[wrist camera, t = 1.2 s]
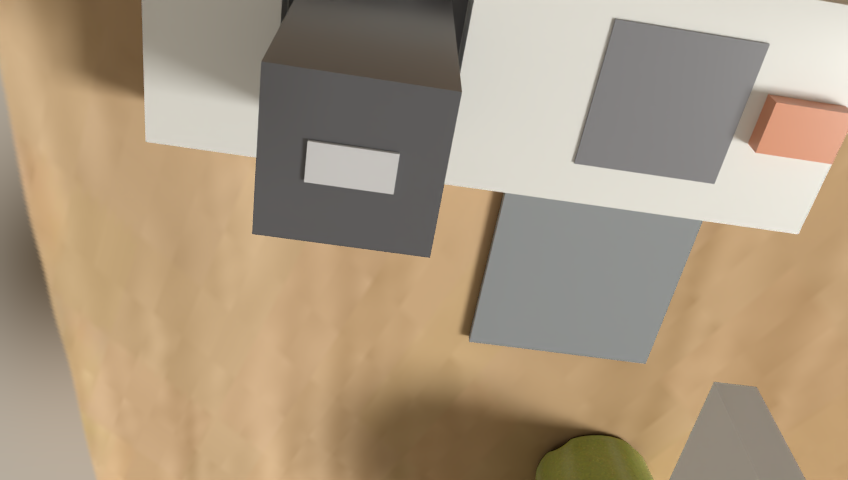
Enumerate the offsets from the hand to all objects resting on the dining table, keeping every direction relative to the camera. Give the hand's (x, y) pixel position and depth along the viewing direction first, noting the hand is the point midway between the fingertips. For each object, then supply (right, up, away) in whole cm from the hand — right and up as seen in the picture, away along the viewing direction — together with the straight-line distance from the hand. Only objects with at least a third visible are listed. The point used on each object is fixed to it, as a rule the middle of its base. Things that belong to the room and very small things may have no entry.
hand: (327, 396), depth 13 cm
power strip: (+8, +10, +18) cm, 22 cm away
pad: (+9, +1, +24) cm, 25 cm away
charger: (0, +10, +16) cm, 19 cm away
